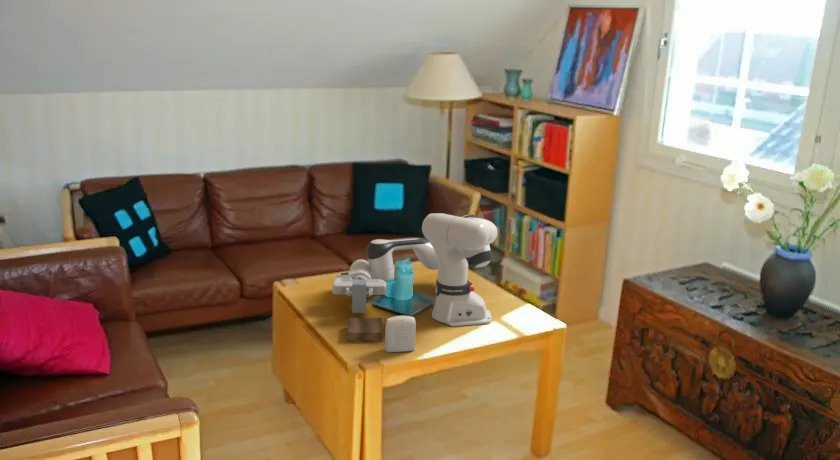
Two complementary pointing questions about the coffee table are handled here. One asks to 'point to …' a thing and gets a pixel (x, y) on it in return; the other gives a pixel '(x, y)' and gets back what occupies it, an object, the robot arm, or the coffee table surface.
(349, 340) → the walnut block
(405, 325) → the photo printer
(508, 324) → the coffee table surface
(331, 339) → the coffee table surface
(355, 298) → the grey pillar
